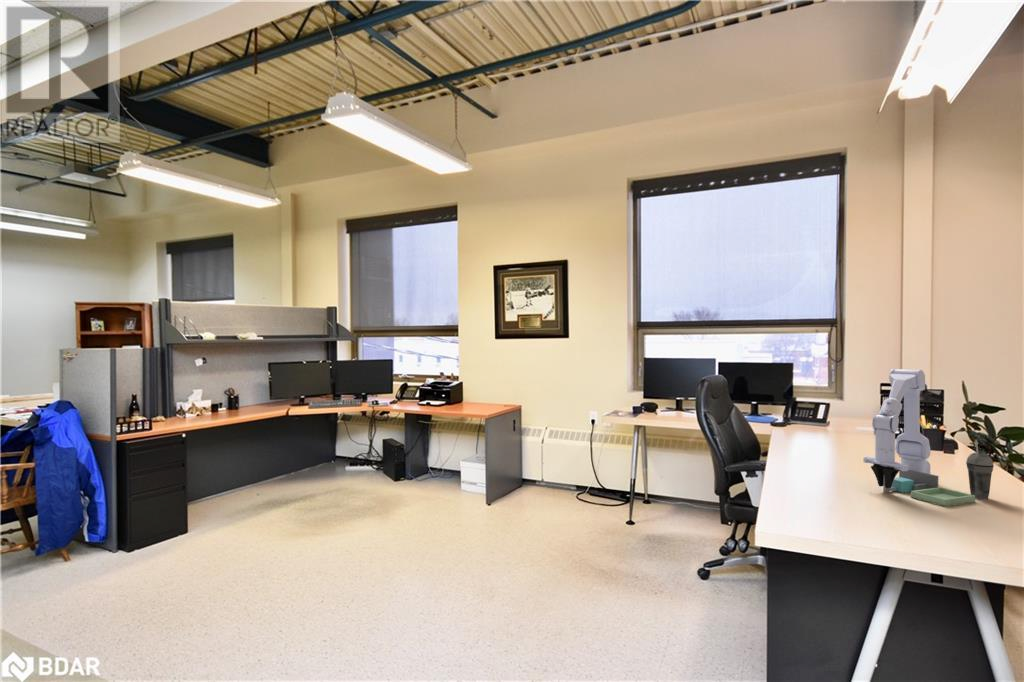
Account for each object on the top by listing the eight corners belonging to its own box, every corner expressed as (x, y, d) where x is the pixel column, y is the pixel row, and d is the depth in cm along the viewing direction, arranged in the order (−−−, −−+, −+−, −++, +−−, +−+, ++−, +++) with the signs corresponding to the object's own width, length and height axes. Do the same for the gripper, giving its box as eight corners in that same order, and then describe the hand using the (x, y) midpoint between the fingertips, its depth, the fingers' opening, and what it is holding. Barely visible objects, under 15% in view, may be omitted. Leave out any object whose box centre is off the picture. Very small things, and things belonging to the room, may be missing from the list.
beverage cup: (999, 501, 177) (999, 442, 177) (974, 500, 179) (974, 441, 179) (984, 495, 184) (984, 438, 184) (960, 494, 186) (961, 437, 186)
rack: (900, 483, 199) (900, 467, 199) (938, 492, 187) (938, 475, 187) (886, 485, 197) (886, 469, 197) (923, 494, 184) (923, 477, 184)
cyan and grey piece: (900, 488, 193) (901, 471, 193) (913, 491, 189) (913, 474, 189) (878, 490, 189) (878, 474, 189) (890, 494, 185) (890, 477, 185)
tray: (940, 493, 186) (940, 487, 186) (975, 502, 176) (975, 495, 176) (910, 497, 181) (910, 491, 181) (944, 506, 171) (944, 499, 171)
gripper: (857, 445, 193) (857, 482, 193) (898, 453, 179) (897, 493, 179) (871, 444, 195) (871, 481, 195) (912, 452, 181) (912, 491, 181)
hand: (884, 486), depth 187 cm, fingers closed on cyan and grey piece, 2 cm apart
